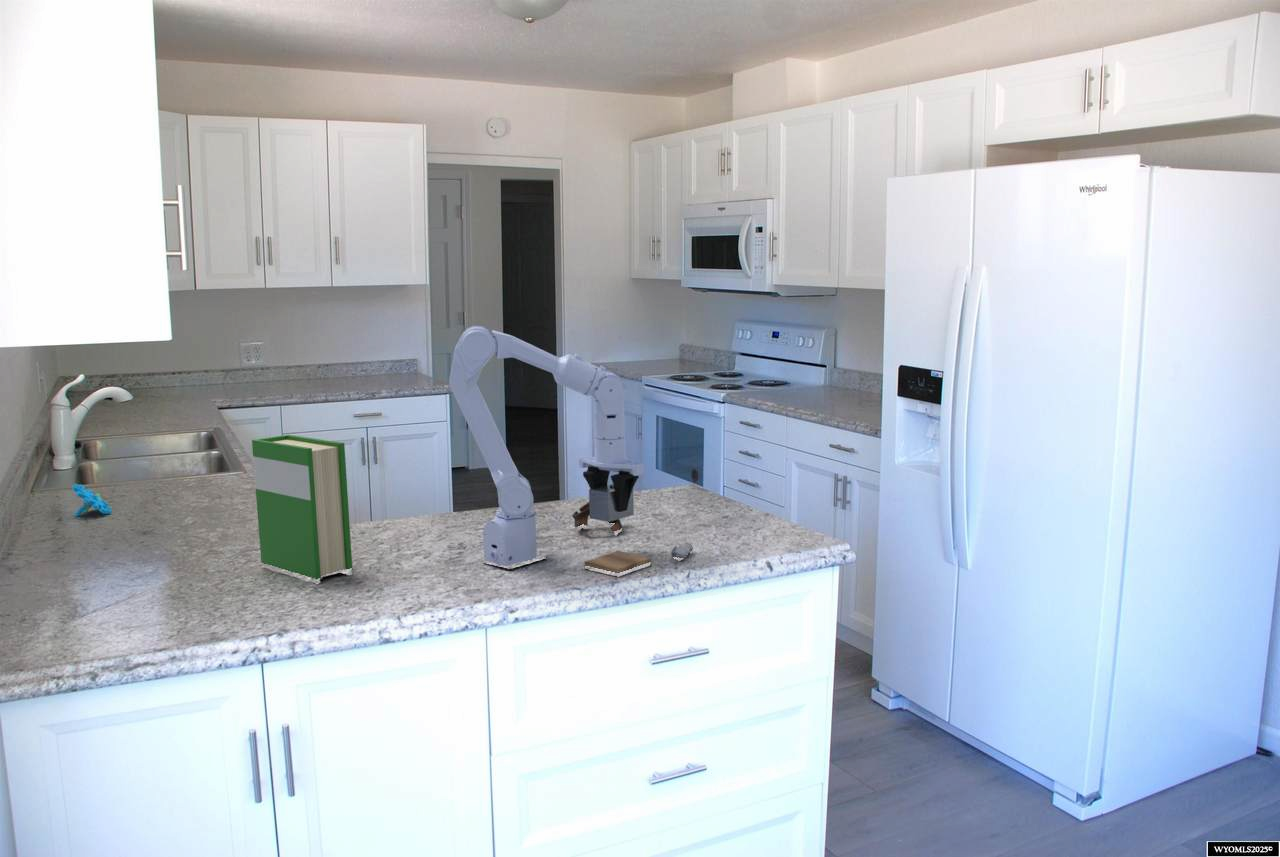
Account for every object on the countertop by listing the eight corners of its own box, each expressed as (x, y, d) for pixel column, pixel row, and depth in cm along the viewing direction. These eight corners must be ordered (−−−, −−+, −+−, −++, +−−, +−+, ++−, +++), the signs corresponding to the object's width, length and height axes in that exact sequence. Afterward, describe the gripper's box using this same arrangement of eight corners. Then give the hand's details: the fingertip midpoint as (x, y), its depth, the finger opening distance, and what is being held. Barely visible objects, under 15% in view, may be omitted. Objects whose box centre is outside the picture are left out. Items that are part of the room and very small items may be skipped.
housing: (608, 521, 185) (608, 491, 184) (589, 518, 188) (588, 487, 187) (633, 514, 190) (633, 484, 189) (614, 511, 193) (614, 481, 192)
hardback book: (352, 574, 181) (344, 442, 177) (316, 584, 175) (307, 448, 171) (297, 559, 192) (288, 434, 188) (261, 568, 186) (251, 440, 182)
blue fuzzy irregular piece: (107, 511, 228) (70, 482, 226) (87, 531, 227) (51, 502, 225) (120, 507, 239) (85, 480, 237) (101, 526, 238) (66, 499, 236)
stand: (617, 577, 176) (617, 569, 175) (584, 569, 181) (584, 561, 181) (651, 565, 182) (650, 557, 182) (618, 558, 188) (618, 550, 187)
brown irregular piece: (613, 542, 201) (591, 508, 200) (581, 556, 207) (559, 523, 206) (640, 515, 211) (619, 482, 210) (609, 529, 216) (588, 497, 215)
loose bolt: (685, 562, 184) (685, 547, 184) (671, 560, 185) (671, 546, 185) (695, 553, 190) (695, 539, 189) (681, 552, 191) (681, 538, 190)
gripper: (653, 437, 185) (654, 510, 187) (595, 431, 194) (597, 500, 196) (628, 443, 180) (630, 517, 182) (570, 436, 189) (572, 506, 191)
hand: (611, 508), depth 189 cm, fingers closed on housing, 5 cm apart
